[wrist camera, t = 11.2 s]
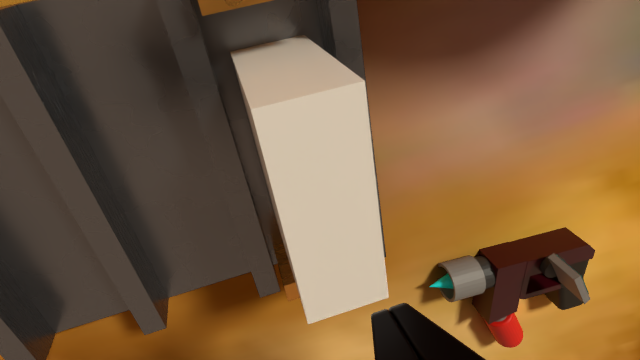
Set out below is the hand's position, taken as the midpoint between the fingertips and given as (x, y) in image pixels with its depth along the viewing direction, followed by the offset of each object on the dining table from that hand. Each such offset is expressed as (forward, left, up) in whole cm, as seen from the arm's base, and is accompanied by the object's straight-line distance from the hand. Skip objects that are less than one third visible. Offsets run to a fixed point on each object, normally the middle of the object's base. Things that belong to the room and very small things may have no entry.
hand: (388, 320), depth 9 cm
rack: (0, +6, -12) cm, 13 cm away
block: (0, 0, -11) cm, 11 cm away
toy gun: (-16, -12, -12) cm, 24 cm away
